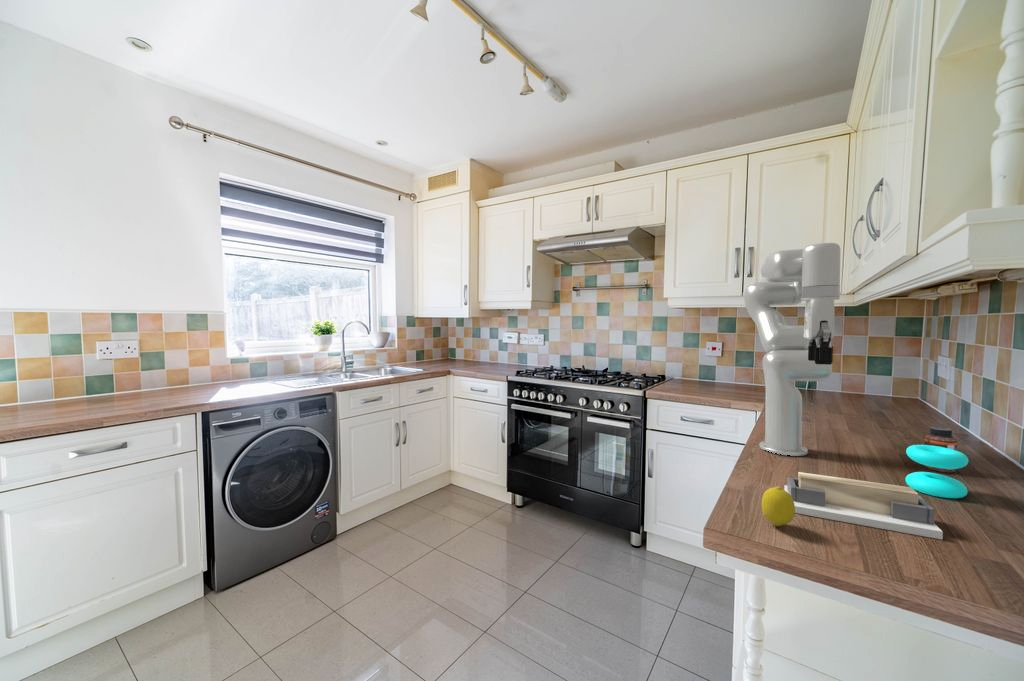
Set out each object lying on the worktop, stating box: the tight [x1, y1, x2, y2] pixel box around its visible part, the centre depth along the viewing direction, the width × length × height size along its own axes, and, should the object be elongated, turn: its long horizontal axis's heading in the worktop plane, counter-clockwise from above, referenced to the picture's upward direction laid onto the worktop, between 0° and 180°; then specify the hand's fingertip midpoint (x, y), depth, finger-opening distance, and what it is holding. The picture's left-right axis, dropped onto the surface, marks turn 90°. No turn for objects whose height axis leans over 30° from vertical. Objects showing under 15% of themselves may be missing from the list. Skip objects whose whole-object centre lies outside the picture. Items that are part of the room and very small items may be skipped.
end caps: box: [786, 476, 935, 525], centre depth 83 cm, size 7×22×3 cm, turn 61°
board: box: [783, 484, 944, 540], centre depth 83 cm, size 12×23×2 cm, turn 61°
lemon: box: [761, 486, 796, 527], centre depth 78 cm, size 6×6×8 cm
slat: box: [797, 471, 919, 515], centre depth 83 cm, size 4×19×5 cm, turn 61°
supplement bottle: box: [923, 426, 958, 474], centre depth 106 cm, size 6×6×11 cm
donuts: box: [905, 444, 969, 499], centre depth 93 cm, size 10×10×10 cm
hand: (819, 362), depth 99 cm, fingers open, 9 cm apart
